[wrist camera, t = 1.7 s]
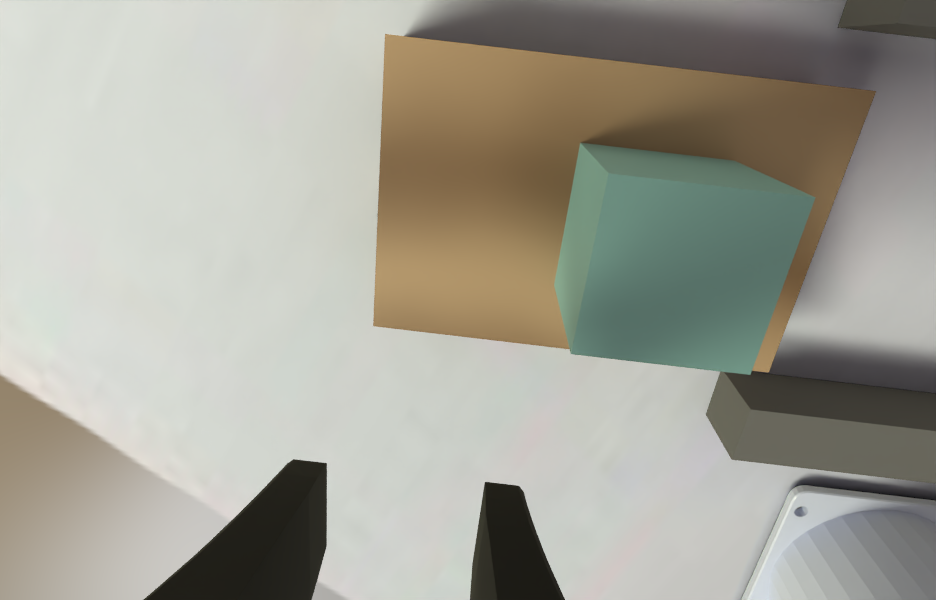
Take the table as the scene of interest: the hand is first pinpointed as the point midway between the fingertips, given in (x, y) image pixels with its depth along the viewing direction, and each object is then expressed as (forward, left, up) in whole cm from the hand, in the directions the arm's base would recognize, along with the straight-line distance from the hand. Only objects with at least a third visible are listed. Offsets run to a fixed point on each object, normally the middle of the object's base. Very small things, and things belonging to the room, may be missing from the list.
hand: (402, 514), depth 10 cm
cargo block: (+4, -5, -7) cm, 10 cm away
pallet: (+4, -4, -10) cm, 12 cm away
